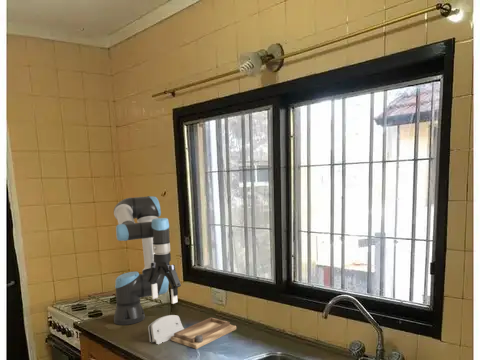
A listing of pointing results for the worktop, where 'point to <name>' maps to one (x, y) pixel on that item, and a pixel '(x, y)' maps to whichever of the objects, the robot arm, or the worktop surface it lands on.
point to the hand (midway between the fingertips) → (164, 300)
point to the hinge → (164, 328)
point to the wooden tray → (203, 332)
